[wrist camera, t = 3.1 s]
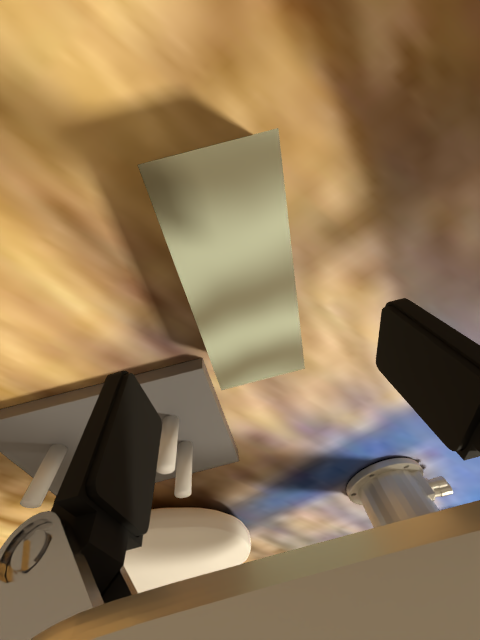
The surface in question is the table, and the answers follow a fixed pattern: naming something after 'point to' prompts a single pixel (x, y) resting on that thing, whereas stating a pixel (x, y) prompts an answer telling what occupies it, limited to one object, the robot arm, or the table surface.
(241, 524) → the plate
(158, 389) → the peg stand
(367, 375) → the table surface
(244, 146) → the pale green rectangular block
